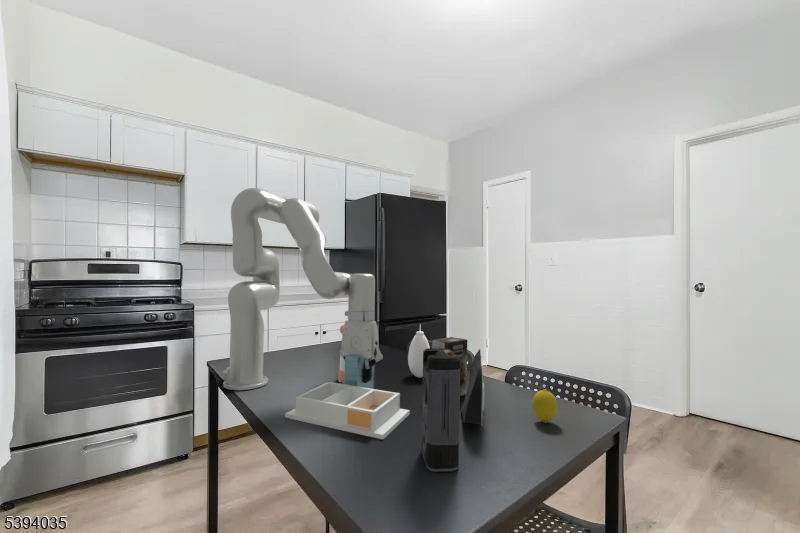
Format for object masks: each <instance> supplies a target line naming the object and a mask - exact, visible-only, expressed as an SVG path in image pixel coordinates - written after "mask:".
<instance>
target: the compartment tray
mask: <svg viewBox="0 0 800 533" xmlns="http://www.w3.org/2000/svg"><path fill="white" fill-rule="evenodd" d="M400 398H401V393H400V392H393V391H389V390H388V391H387V390H383V389H375V388H374V389H370V388H364V387H358V386H352V385H346V384H344V383H341V382H339V383H338V382H332V381H328V382H325V383H323V384H321V385H319V386H317V387H315V388H313V389H311V390H308V391H305V392H304V393H302V394H299V395H297V396H296V397H295V408H293V409H291V410H289V411H287V412H285V415H284V416H285V418H287V419H290V420H294V421H298V422H299V421H300V422H304V423H308V424H312V425H317V426H322V427H324V428H325V427H327V428H330V429H334V430H339V431H343V432H347V433H352V434H355V435H356V434H357V435H362V436H365V437H370V438H373V439H374V438H375V439H378V440H384V439H385V438H387V437H388V436H389V435H390V434H391V433H392V432H393V431H394V430H395V429H396V428H397V427H398V426H399V425H400V424H401V423H402V422H403V421H404V420H405V419H406V418H408V416H410V413H411V412H410V411H411V410H410V409H405V408H401V402H400V401H401V399H400Z"/></svg>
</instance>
